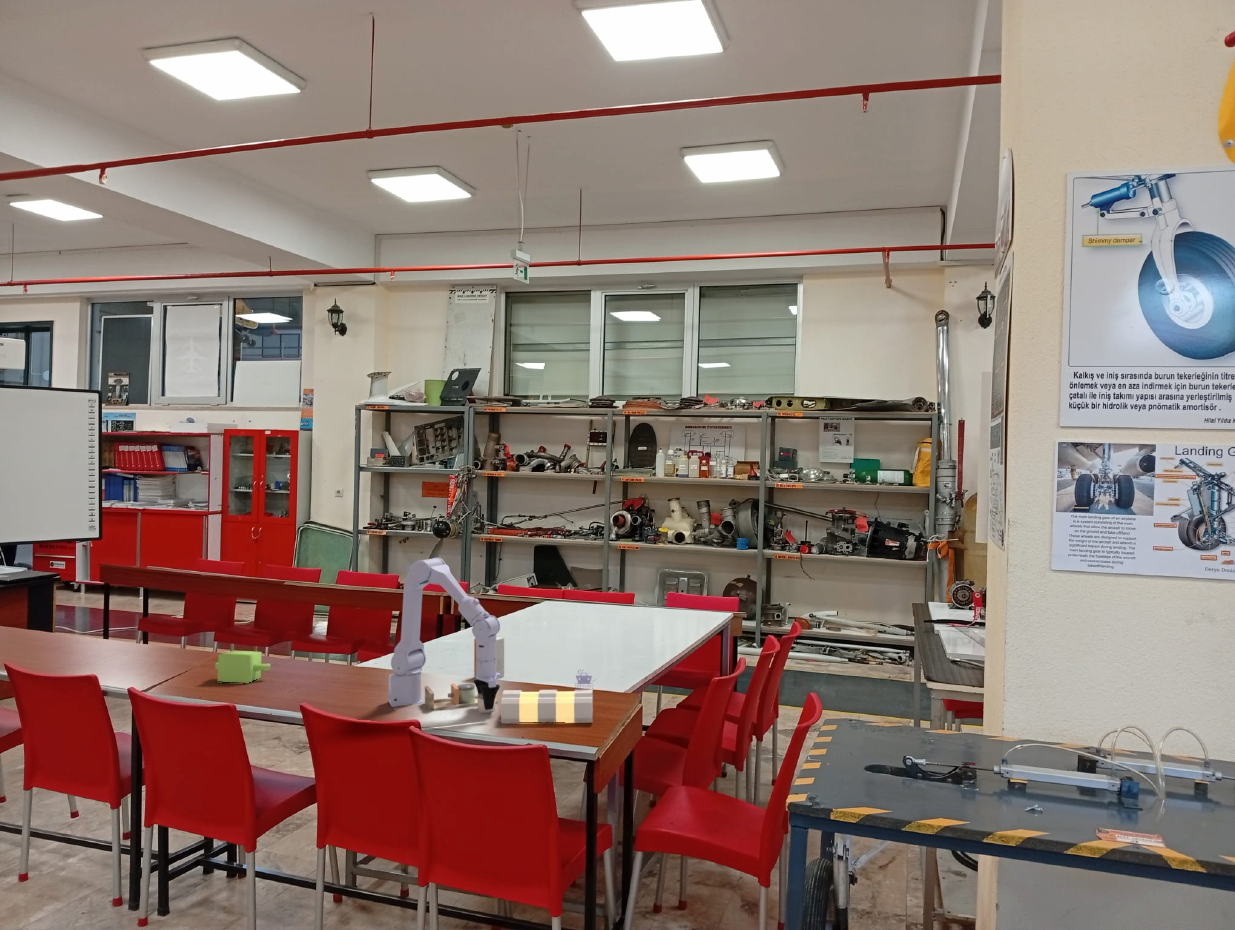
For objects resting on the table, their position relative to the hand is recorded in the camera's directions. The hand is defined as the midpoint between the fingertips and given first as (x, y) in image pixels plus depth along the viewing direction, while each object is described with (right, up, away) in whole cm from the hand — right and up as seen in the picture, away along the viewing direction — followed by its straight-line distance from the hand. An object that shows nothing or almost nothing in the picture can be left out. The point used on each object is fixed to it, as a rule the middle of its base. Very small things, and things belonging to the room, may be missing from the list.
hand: (486, 706), depth 251 cm
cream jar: (0, -1, 0) cm, 1 cm away
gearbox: (-86, -2, +39) cm, 95 cm away
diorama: (+18, -2, -7) cm, 20 cm away
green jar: (-7, -1, +8) cm, 11 cm away
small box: (-5, -2, +42) cm, 42 cm away
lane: (-8, -2, +7) cm, 11 cm away
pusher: (-11, -1, +6) cm, 13 cm away
